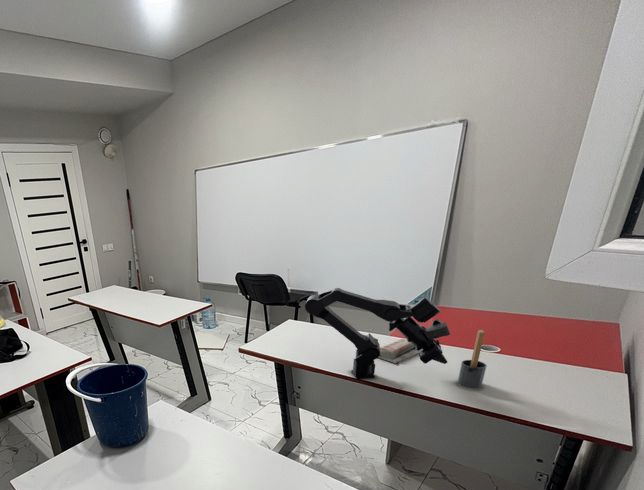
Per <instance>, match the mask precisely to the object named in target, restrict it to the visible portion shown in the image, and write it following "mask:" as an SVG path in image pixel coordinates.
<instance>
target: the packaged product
mask: <svg viewBox="0 0 644 490" xmlns="http://www.w3.org/2000/svg"><path fill="white" fill-rule="evenodd" d="M421 351H422V349H421V350H419V351H418V350H417V349H416V347H415V346H414V345H413V344H412V343H411V342H408V341H407V338H401V339H398V340H396V341H393V342H391V343H388V344H385V345H384V346H380V356H379V357H378V358H379V359H381V360H384V361H388V362H389V363H394V364H397V363H399V362H401V361H403V360H406V359H408V358H410V357H413V356H416V355H417V354H420V352H421ZM378 358H377V359H378Z"/></svg>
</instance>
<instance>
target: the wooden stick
mask: <svg viewBox="0 0 644 490" xmlns="http://www.w3.org/2000/svg"><path fill="white" fill-rule="evenodd" d="M484 336H485V331H484V329H477V334H476V338H475V343H474V345H473V351H472V355H471V359H470V360H471V364H470V367H475V368H477V364H478V361H479V358H480V354H481V350H482V345H483V342H484V338H485V337H484Z"/></svg>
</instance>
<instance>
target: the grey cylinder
mask: <svg viewBox="0 0 644 490" xmlns="http://www.w3.org/2000/svg"><path fill="white" fill-rule="evenodd" d="M471 360H472V359H465V360H462V361H461V363H460V367H459V372H458V378H457V384H458V385H459V386H461V387H465V388H469V389H480V388H482V386H483V384H484V379H485V376H486V375H485V374H486V371H487V366H488V365H487V364H486V363H485V362H483V361H480V360H478V364H477V368H475V367H470V364H471Z"/></svg>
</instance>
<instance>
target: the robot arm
mask: <svg viewBox="0 0 644 490" xmlns="http://www.w3.org/2000/svg"><path fill="white" fill-rule="evenodd" d="M336 302H339V303H342V304H345V305H348V306H352V307H354V308H358V309H361V310H364V311H367V312H370V313H372V314H373V315H375V316H376V317H378V318H380V319H382V320H384V321H386V322H388V331H389V332H393V330H395V329H396V330H397V331H398V332H399V333H401V335H403V337H405V339H407V341H408V342H411V343H412V344H413V345H414V346H415V347H416V349H417V350H418V351H419V350H421V349H422V351H421V352H420V353H418V356H419V359H420V361H421V362H422V364H428V363H429V362H431V361H435V362H438V363H440V364H444V365H446V364H448V360H447V358H446V357H445V355H444V352H443V349H442V346H441V343H440V340H439V339H440V338H442V337H448V336H451V332H450V329H449V327H448V324H447V322H445V321H441V320H439V319H433V320H432V321H431V325H429V326H428V327H425V326H424V325H420V324H419V323H421V324H423V323H424V324H425V323H427V322H428V321H429V320H431V319H432V318H434V317H435V316H437V315H439V314H440V313H441V312H442V310H441V309H440V308H439V306H437V305H436V304H435V303H434V302H433V301H431V300H430V299H428V298H427V297H425V296H424V297H422V298H420V300H419V301H417V302H415V304H413V305H412V306H411V305H408V304H407V305H406V304H401V303H400V304H399V303H398V302H397V301H394V300H388V299H375V298H372V297H367V296H364V295H361V294H359V293H354V292H351V291H348V290H344V289H342V288H340V287H335V288H333V289H331V290H328V291H324V292H322V293H319V294H312V295H310V296H309V297H308V298H307V300H306V301H305V303H304V304H305V305H304V311H306V313H308V314H309V315H311V316H313V317H314V318H317V319H320V320H322V321H325V322H326V323H327V324H328V325H329V326H331V327H332V328H333V329H334V330H336V331H337V332H338V333H340V335H342V336H343V337H344V338H346V339H347V340H348V341H349V342H351V344H353V346H354V347H355V349H356V350H355V358H353V365H352V369H351V370H350V372H351V374H352V375H353V376H354V377H355V379H357V380H360V379H361V380H363V379H375V378H376V376H375V371H376V363H375V360H377V359H378V357H379V356H380V347H381V345H380V343H379V339H378V338H376V337H374V336H373V335H372V334H371V333H370V332H368V334H367V335H365V334H362V333H361V332H360V331H358V330H357V329H355V327H353V326H352V325H351V324H349V323H348V322H347V321H346V320H344V319H343V318H342V317H340V316H339V315H338V314H337V313H336V312H334V311H333V310H332V309H331V308H330V305H332V304H335V303H336ZM436 339H437V340H436Z"/></svg>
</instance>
